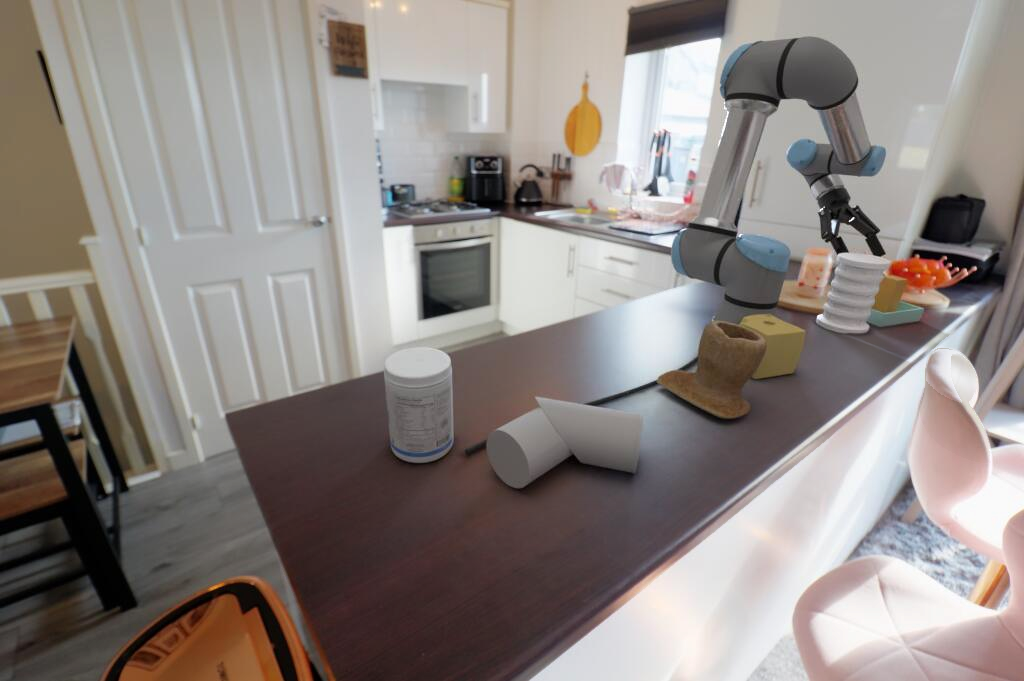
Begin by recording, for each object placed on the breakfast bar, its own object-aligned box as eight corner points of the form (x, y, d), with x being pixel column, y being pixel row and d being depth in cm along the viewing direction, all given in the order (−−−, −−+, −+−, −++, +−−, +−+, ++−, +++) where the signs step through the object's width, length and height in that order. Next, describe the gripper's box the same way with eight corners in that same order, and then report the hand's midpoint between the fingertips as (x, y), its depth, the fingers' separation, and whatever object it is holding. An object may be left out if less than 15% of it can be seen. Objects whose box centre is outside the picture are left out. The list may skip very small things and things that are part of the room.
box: (879, 328, 123) (884, 314, 122) (842, 314, 132) (847, 301, 130) (918, 322, 128) (924, 308, 127) (880, 309, 137) (885, 296, 135)
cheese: (719, 358, 104) (729, 316, 100) (759, 353, 107) (770, 311, 103) (755, 381, 95) (767, 335, 91) (797, 375, 98) (811, 330, 94)
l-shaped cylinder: (564, 405, 82) (476, 454, 70) (580, 356, 77) (487, 400, 64) (649, 472, 73) (566, 543, 60) (675, 422, 67) (588, 489, 54)
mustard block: (883, 320, 128) (897, 280, 123) (868, 314, 131) (882, 276, 127) (893, 318, 129) (908, 279, 124) (878, 313, 132) (892, 275, 128)
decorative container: (877, 336, 118) (903, 265, 111) (827, 332, 120) (849, 262, 112) (854, 319, 129) (877, 253, 121) (808, 316, 130) (828, 250, 123)
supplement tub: (395, 428, 77) (388, 346, 71) (454, 426, 78) (452, 345, 72) (386, 468, 68) (377, 377, 62) (453, 465, 69) (451, 376, 63)
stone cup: (764, 411, 85) (786, 334, 79) (721, 430, 79) (742, 348, 73) (694, 375, 97) (709, 305, 91) (653, 389, 91) (665, 316, 85)
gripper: (849, 201, 147) (881, 261, 140) (788, 203, 139) (819, 267, 132) (872, 185, 140) (907, 248, 133) (809, 186, 132) (843, 253, 125)
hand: (863, 258), depth 133 cm, fingers open, 13 cm apart
